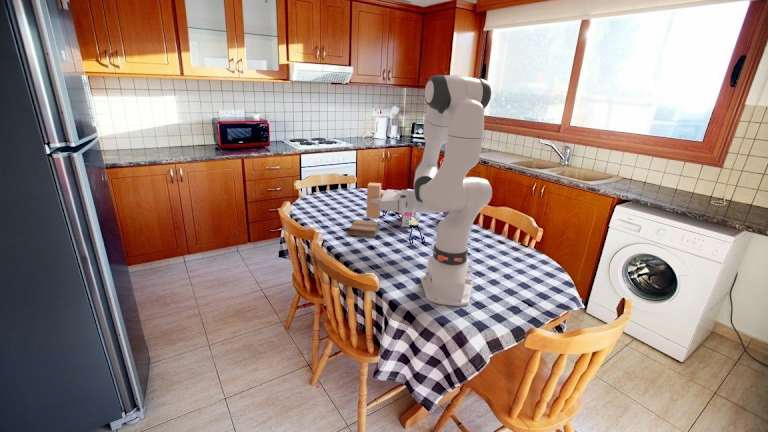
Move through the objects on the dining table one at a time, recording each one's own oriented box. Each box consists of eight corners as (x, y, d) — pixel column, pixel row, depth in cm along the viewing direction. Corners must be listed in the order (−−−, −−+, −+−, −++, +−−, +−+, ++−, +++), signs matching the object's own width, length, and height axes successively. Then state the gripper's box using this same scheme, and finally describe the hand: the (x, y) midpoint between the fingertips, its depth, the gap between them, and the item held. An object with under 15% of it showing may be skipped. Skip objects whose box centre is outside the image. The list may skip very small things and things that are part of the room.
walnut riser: (374, 237, 174) (375, 231, 173) (349, 234, 175) (349, 228, 174) (378, 228, 185) (378, 222, 184) (354, 225, 186) (354, 220, 185)
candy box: (412, 228, 187) (415, 196, 181) (400, 227, 188) (403, 195, 182) (415, 219, 200) (418, 189, 194) (404, 218, 201) (407, 188, 195)
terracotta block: (378, 218, 158) (379, 186, 153) (366, 217, 158) (367, 185, 154) (379, 215, 162) (381, 183, 158) (368, 214, 163) (369, 182, 159)
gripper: (407, 187, 165) (376, 184, 167) (403, 199, 146) (368, 196, 147) (406, 201, 167) (375, 198, 169) (402, 215, 148) (367, 212, 149)
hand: (371, 197), depth 158 cm, fingers closed on terracotta block, 5 cm apart
